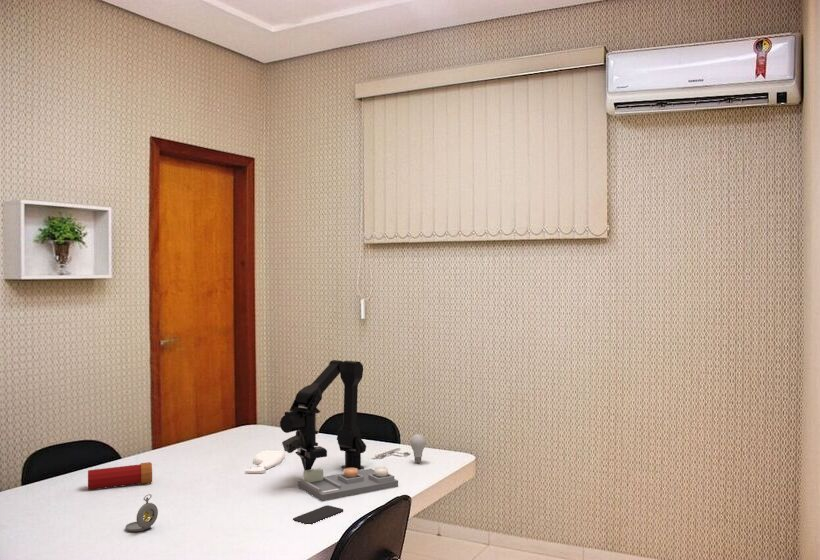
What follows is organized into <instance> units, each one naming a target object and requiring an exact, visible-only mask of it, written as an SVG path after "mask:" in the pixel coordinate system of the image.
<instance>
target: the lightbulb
mask: <svg viewBox="0 0 820 560" xmlns="http://www.w3.org/2000/svg"><path fill="white" fill-rule="evenodd" d="M409 443H410V448H411V449H412V452H413V456H414V462H415V463H416V464H420V463H421V462H422V457H423V451H424V450H425V447H426V445H427V440H426V438H425V436H424V435H422V434H419V433H417V434H414V435H412V437H411V438H410V441H409Z"/></svg>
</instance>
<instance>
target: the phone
mask: <svg viewBox="0 0 820 560" xmlns="http://www.w3.org/2000/svg"><path fill="white" fill-rule="evenodd" d="M341 512H342V513H344V508H341V507H336V506H333V505H323V506H321V507H318V508H316V509H313V510H311V511H308V512H306V513H303V514H300V515H298V516H295V517H293V519H292V521H293V520H294V521H293V522H296V521H298V522H297V523H299V522H301V523H300V524H303V523H304V524H303V525H306V524H311V525H314V524H316V522H317V523H319V522H321V521H320V520H322V521H323V519H324V520H326V519H325V518H327V519H328V517H329V518H331V516H332V517H334V516H337V515H339V514H342V513H341ZM338 513H339V514H338ZM336 514H337V515H336ZM333 515H334V516H333ZM318 521H319V522H318ZM313 523H314V524H313Z"/></svg>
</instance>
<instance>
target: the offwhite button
mask: <svg viewBox="0 0 820 560" xmlns="http://www.w3.org/2000/svg"><path fill="white" fill-rule="evenodd" d="M374 470H375V476H379V477H383V476H387V475H388V473H389V468H388V467H386V466H377V467H374Z"/></svg>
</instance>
